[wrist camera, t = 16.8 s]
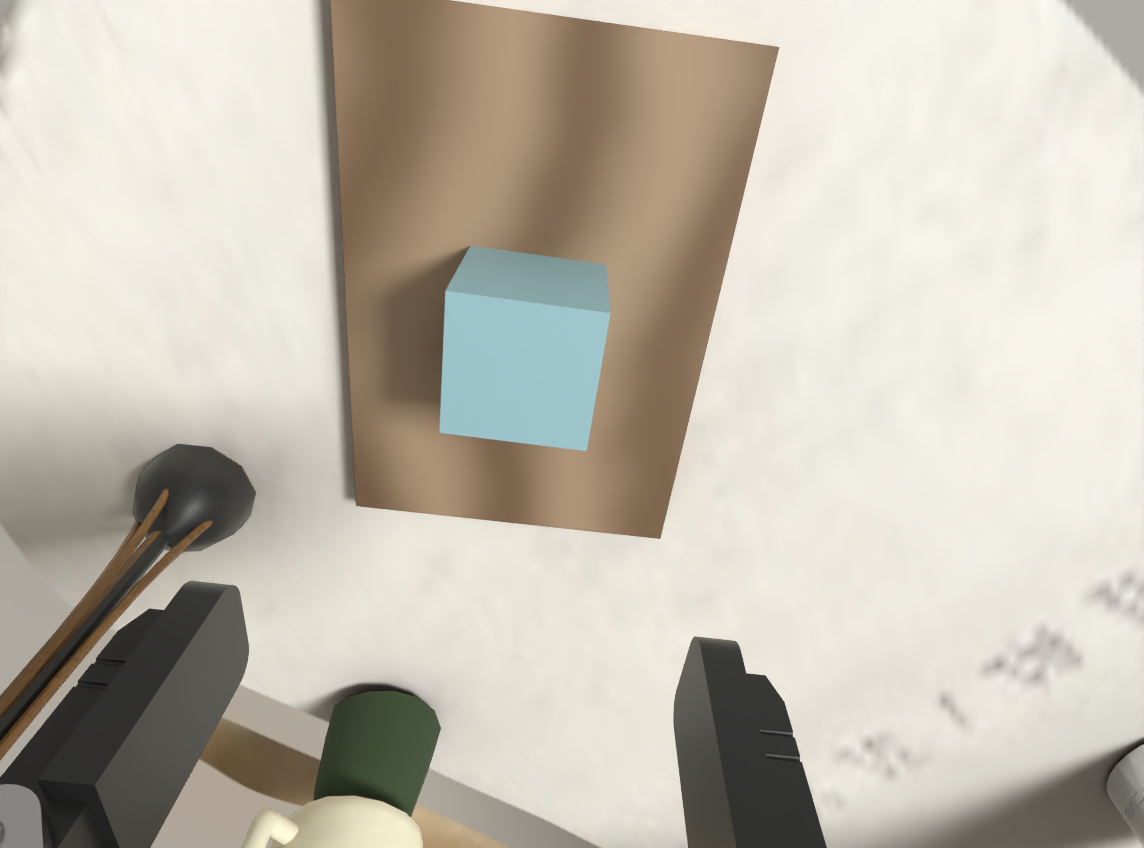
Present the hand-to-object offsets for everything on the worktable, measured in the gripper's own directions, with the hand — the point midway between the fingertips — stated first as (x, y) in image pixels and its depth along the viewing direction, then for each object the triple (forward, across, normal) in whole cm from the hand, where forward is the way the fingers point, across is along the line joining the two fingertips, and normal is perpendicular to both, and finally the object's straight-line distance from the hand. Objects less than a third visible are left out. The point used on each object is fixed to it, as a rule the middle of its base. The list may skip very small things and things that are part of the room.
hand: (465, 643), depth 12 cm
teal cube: (+16, 0, 0) cm, 16 cm away
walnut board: (+17, 0, 0) cm, 17 cm away
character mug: (+17, +6, +26) cm, 32 cm away
